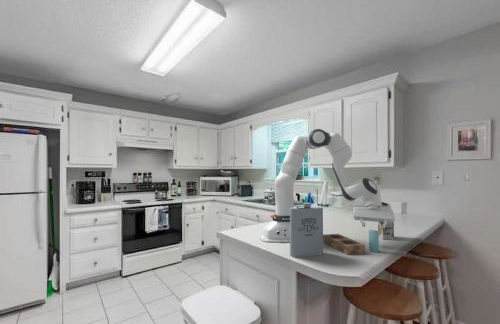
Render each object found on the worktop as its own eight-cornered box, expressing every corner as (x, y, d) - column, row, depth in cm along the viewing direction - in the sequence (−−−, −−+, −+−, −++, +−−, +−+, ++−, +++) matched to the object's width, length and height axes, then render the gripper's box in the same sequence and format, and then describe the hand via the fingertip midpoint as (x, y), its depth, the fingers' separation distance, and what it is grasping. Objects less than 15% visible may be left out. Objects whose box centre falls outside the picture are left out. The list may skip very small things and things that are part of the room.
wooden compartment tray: (347, 254, 113) (347, 246, 113) (323, 241, 134) (323, 234, 134) (364, 253, 115) (364, 245, 115) (338, 240, 137) (338, 233, 137)
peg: (373, 252, 116) (373, 232, 116) (367, 249, 120) (366, 230, 121) (380, 252, 117) (380, 232, 117) (374, 249, 121) (374, 229, 122)
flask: (293, 258, 108) (293, 203, 109) (288, 254, 112) (288, 202, 113) (325, 254, 113) (325, 202, 114) (320, 251, 117) (319, 201, 119)
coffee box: (394, 240, 139) (394, 212, 140) (382, 239, 140) (382, 212, 141) (388, 236, 148) (388, 210, 149) (377, 235, 149) (377, 210, 150)
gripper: (352, 201, 137) (352, 221, 128) (393, 204, 128) (395, 225, 118) (353, 208, 141) (352, 228, 131) (392, 211, 131) (395, 232, 122)
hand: (373, 227), depth 125 cm, fingers open, 8 cm apart
